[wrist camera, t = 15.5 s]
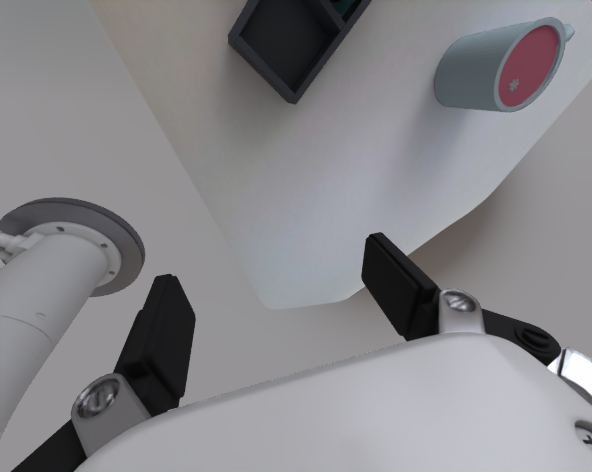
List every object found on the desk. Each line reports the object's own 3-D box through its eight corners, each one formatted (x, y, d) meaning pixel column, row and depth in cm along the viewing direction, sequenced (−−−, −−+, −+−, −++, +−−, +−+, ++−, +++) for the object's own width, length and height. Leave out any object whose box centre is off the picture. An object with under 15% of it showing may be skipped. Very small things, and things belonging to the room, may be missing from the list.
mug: (439, 118, 39) (494, 126, 31) (429, 59, 34) (493, 50, 26) (514, 68, 38) (593, 63, 29) (517, -2, 32) (614, -32, 24)
